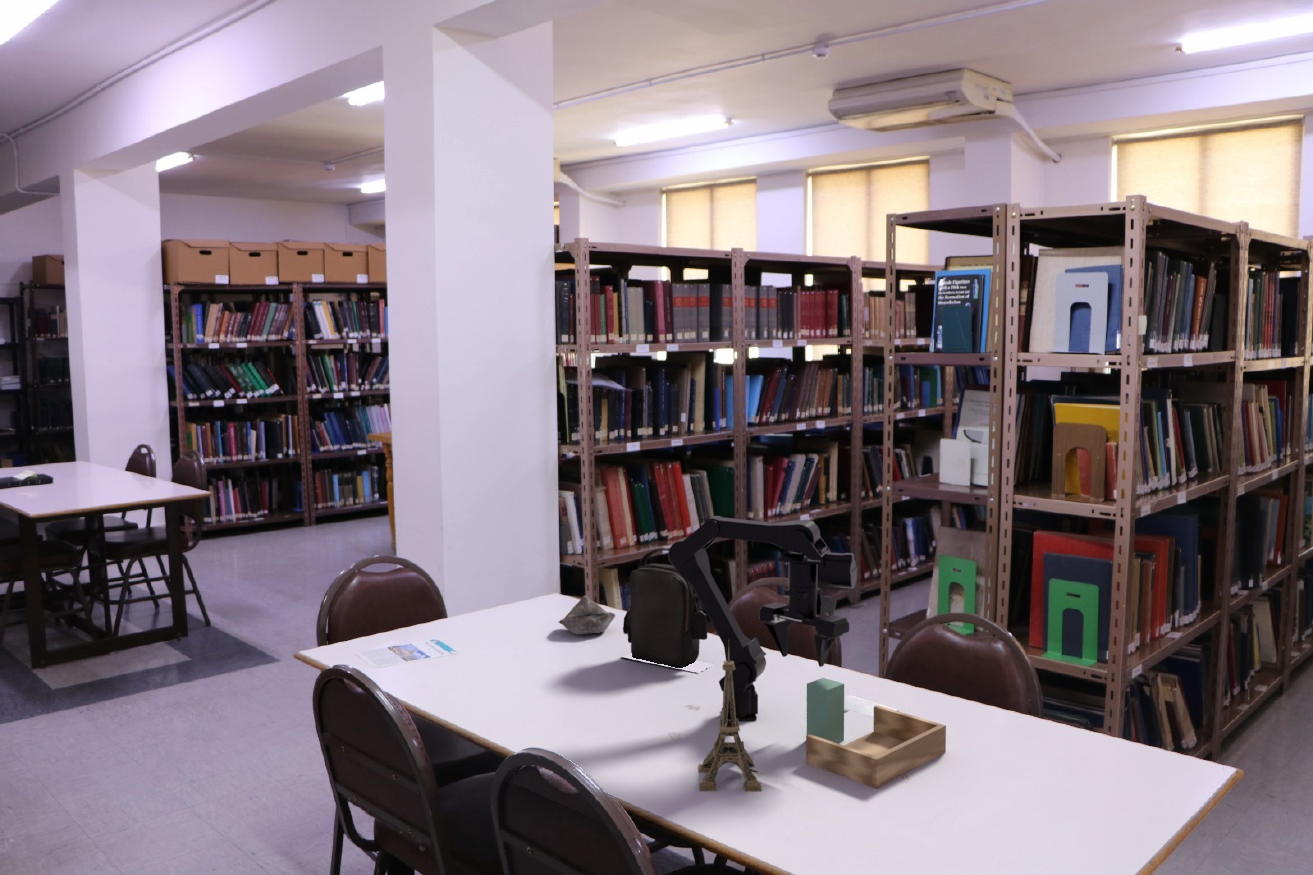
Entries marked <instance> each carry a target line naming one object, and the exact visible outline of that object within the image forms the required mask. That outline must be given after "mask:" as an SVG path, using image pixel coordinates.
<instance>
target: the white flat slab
mask: <svg viewBox="0 0 1313 875" xmlns="http://www.w3.org/2000/svg"><path fill="white" fill-rule="evenodd" d="M876 705H878V706H881V707H884V708H888V709H891V710H895V711H898V712H900V710H899V709H896V708H893V707H889V706H886V705H883V704H881V703H877V702H873V701H870V700H867V699H863V698H859V697H858V696H857V697H856V696H853V695H852V694H851V695H850V694H848V695H844V714H846V713H848V712H854V713H858V714H861V715H864V716H867V717H871V718H874V706H876Z"/></svg>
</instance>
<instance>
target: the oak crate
mask: <svg viewBox="0 0 1313 875" xmlns="http://www.w3.org/2000/svg"><path fill="white" fill-rule="evenodd" d="M946 742H947V725H946V724H943V723H940V722H935V721H932V720H928V719H926V718H921V717H918V716H914V715H911V714H908V713H905V712H902V711H899V712H898V711H895V710H891V709H888V708H884V707H881V706H878V705H876V706H874V717H873V731H871V732H870V733H867V734H865V735H863V736H861V737H859V738H857V739H855V740H853V741H850V742H848V743H846V744H844V745H843V744H840V743H835V742H832V741H829V740H826V739H823V738H820V737H817V736H814V735H811V734H809V735H807V734H806V736H805V745H806V746H805V763H806V764H808V765H811V766H813V767H816V768H819V769H822V770H825V771H826V772H830V773H832V774H836V775H838V776H841V777H844V778H846V779H849V780H852V781H855V782H858V783H860V784H863V785H866V786H868V787H871V788H874V789H879V788H881V787H882V786H885V785H886V784H888V783H890V782H892V781H894V780H897V779H898V778H900V777H901V776H903V775H905V774H908V773H909V772H911V771H912V770H915V769H917V768H918V767H920V766H922V765H924V764H927V763H928V762H929V761H932V760H934V759H935V758H937V757H939V756H941V755H943V754H945V753H946V750H947V748H946V746H947V743H946Z"/></svg>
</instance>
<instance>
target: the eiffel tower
mask: <svg viewBox="0 0 1313 875" xmlns="http://www.w3.org/2000/svg"><path fill="white" fill-rule="evenodd" d="M728 644H729V639H728ZM721 667H722V670H723V671H725V672H724V676H725V682H724V695H723V694H722V708H721V718H719V719H718V730H719V731H718V736H717V738H716V740H715V741H713V747H712V749H711V750H710V751H709V753H708V754H707V755H706V757H705V758H704V759H703V762H702V763H701V764H698V772H699V773H706V774H705V776H704V777H703V778H702V781H701V782H699V792H716V791H717V788H716V787H717V786H716V783H717V782H716V779H717V776H718V773H719V769H720V768H722V766H724V765H726V764H734V765H736V766H737V767H739V768H740V770H741V773H742V774H743V777H744V789H745V792H762V791H763V789H762V784H761V782H759V781H758V778H757V777H756V776H755V775H754V773H759V771H757V770H754V769H752V768H750V767H755V766H756V765H755V763H754V760H753V759H752V757H751V755H750V754H749V753H748V751H747V750H746V749H745V742H744V741H742V739H741V737H740V734H739V732H740V731H741V728H740V723H739V721H740V720H738V718H737V719H736V711H735V698H734V687H733V675H732V671H733V670H735V665H734V661H730V656H729V647H728V661H726V660H724V661H723V664H722V666H721ZM729 698H730V712H731V720H727V719H728V702H729ZM726 737H733V740H734V742H731V741H730V742H729V741H727V742H726Z"/></svg>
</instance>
